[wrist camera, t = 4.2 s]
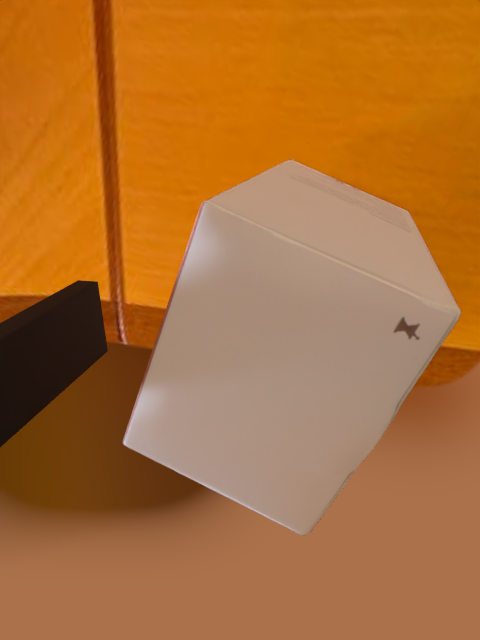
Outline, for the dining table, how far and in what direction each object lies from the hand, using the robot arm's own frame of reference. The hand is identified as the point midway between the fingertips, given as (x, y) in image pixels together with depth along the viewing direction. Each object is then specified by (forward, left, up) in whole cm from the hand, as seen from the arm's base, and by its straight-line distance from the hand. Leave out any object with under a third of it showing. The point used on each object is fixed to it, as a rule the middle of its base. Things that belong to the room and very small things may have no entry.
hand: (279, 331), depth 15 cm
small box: (0, 0, -9) cm, 9 cm away
